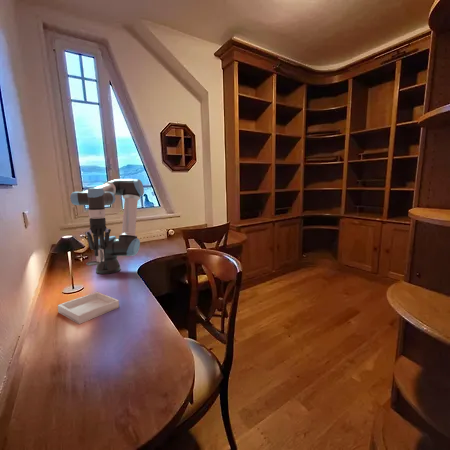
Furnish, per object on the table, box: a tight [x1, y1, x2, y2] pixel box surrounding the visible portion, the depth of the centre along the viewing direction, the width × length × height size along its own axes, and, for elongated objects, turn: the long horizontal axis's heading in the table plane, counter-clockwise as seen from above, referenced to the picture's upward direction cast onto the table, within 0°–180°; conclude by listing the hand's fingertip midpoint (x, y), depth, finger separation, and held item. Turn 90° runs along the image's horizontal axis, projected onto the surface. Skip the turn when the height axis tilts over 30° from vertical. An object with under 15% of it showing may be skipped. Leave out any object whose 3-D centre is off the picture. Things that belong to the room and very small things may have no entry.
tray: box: [57, 291, 120, 325], centre depth 114 cm, size 18×18×4 cm
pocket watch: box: [85, 246, 104, 267], centre depth 132 cm, size 8×8×10 cm
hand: (100, 261), depth 134 cm, fingers closed on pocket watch
